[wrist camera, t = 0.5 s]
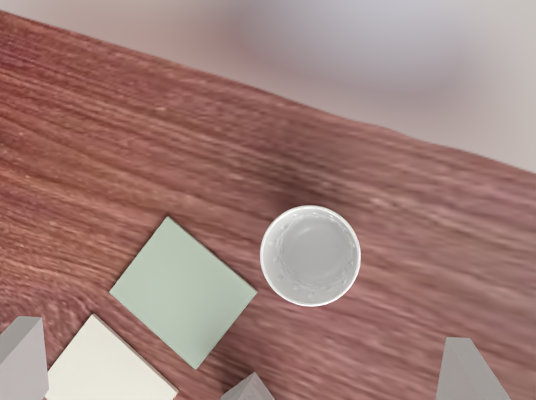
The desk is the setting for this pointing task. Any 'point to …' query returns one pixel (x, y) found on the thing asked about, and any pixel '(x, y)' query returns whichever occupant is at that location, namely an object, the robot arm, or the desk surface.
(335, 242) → the white cup
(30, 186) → the desk surface
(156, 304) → the shorter pad
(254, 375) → the skincare box
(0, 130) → the desk surface
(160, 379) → the taller pad
